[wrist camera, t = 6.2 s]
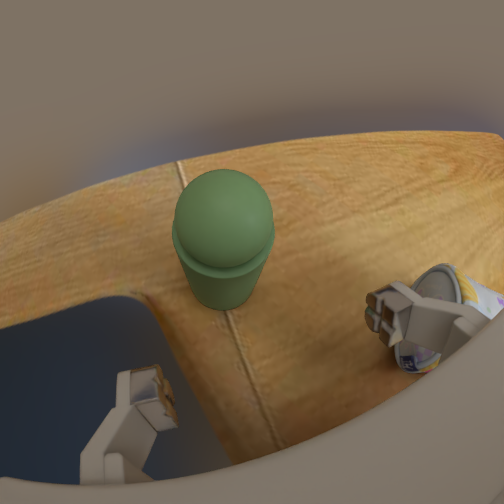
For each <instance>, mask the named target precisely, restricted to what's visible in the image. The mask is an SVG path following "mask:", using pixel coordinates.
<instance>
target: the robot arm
mask: <svg viewBox="0 0 504 504" xmlns="http://www.w3.org/2000/svg"><path fill="white" fill-rule="evenodd" d="M366 303H367V304H368V307H367V308H366V310H365V321H366V324H367V326H368V327H369V329H370V330H371V331H372V332H376V333H379V339H380V340H381V341H382V342H383V343H384V344H385V345H386V346H388V347H391V346H393V345H395V344H397V343H398V342H400V341H402V340H404V339H405V341H408V342H410V343H413V344H415V345H418V346H421V347H423V348H426V349H429V350H431V351H434V352H437V353H440V354H442V355H441V357H440V360H439V362H438V366H436V367H435V368H434V369H432V370H431V371H430V372H428V373H427V374H425V375H424V376H423V377H421V378H420V379H418V380H417V381H415V382H414V383H412V384H411V385H409V386H408V387H406V388H405V389H403V390H402V391H400V392H399V393H397V394H395V395H394V396H392V397H391V398H389V399H387V400H386V401H384V402H382V403H380V404H379V405H377V406H375V407H373V408H372V409H370V410H368V411H366V412H364V413H363V414H361V415H359V416H357V417H355V418H353V419H351V420H349V421H347V422H345V423H343V424H341V425H339V426H337V427H335V428H333V429H331V430H329V431H327V432H324V433H322V434H320V435H318V436H315V437H313V438H311V439H308V440H306V441H304V442H301V443H299V444H296V445H294V446H291V447H288V448H286V449H283V450H280V451H278V452H275V453H272V454H269V455H266V456H263V457H260V458H257V459H254V460H250V461H247V462H244V463H240V464H237V465H233V466H230V467H226V468H222V469H218V470H213V471H209V472H205V473H200V474H195V475H191V476H185V477H179V478H173V479H167V480H159V481H154V480H153V479H152V478H150V477H149V476H148V475H146V474H145V473H144V472H142V469H143V466H144V464H145V462H146V459H147V457H148V455H149V452H150V450H151V448H152V445H153V443H154V440H155V438H156V436H157V432H161V431H165V430H169V429H174V428H178V427H179V424H178V418H177V413H176V411H175V409H174V408H173V405H174V404H175V400H174V395H173V392H172V389H171V386H170V384H169V382H168V380H167V379H166V378H163V372H162V370H161V368H160V366H159V365H157V364H156V365H152V366H147V367H142V368H137V369H132V370H129V371H123V372H119V373H118V375H117V387H116V408H112V409H111V411H110V412H109V414H108V415H107V416H106V418H105V419H104V421H103V422H102V424H101V425H100V427H99V428H98V429H97V431H96V432H95V434H94V435H93V437H92V438H91V440H90V441H89V442H88V444H87V445H86V447H85V448H84V450H83V451H82V453H81V455H80V485H69V484H54V483H44V482H36V481H28V480H22V479H16V478H11V477H2V478H0V504H504V308H503V309H502V310H501V311H500V312H499V313H498V314H497V315H496V316H495V317H494V318H493V319H492V320H491V319H489V318H488V317H487V316H485V315H484V314H483V313H481V312H480V311H478V310H477V309H476V308H474V307H473V306H470V305H464V304H459V303H454V302H449V301H444V300H439V299H434V298H429V297H425V298H422V297H421V296H420V295H418V294H417V293H416V292H414V291H413V290H411V289H410V288H409V287H407V286H406V285H404V284H403V283H402V282H400V281H394V282H392V283H390V284H388V285H386V286H383V287H381V288H379V289H377V290H375V291H372V292H370V293H368V294H367V296H366Z"/></svg>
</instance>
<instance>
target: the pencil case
mask: <svg viewBox="0 0 504 504" xmlns="http://www.w3.org/2000/svg"><path fill="white" fill-rule="evenodd" d="M410 289H411V290H413V291H414V292H416V293H417V294H418V295H420V296H421V297H422V298H425V297H429V298H434V299H439V300H444V301H449V302H454V303H459V304H464V305H470V306H473V307H474V308H476V309H477V310H478V311H480V312H481V313H483V314H484V315H485V316H487V317H488V318H489V319H491V320H492V319H493V318H494V317H495V316H496V315H497V314H498V313H499V312H500V311H501V310H502V309H503V308H504V295H502V294H500V293H497V292H495V291H493V290H491V289H489V288H487V287H485V286H483V285H481V284H479V283H477V282H476V281H474V280H473V279H471V278H470V277H468V276H466V275H464V274H463V273H462V272H461V271H460V270H459V269H458V268H457V267H455V266H453V265H451V264H448V263H442V264H439V265H436V266H434V267H432V268H430V269H429V270H428V271H426V272H425V273H424V274H422V275H421V276H420V277H419V278H418V279H417V280H416V281H415V282H414V284H413V285H412V287H411V288H410ZM441 355H442V354H440V353H437V352H434V351H431V350H429V349H426V348H423V347H421V346H418V345H415V344H413V343H410V342H408V341H405V339H404V340H402V341H400V342H398V343H397V344H395V358H396V361H397V364H398V365H399V367H400V368H401V369H402V370H403V371H405V372H407V373H420V372H425V373H428V372H430V371H431V370H432V369H434V368H435V367H436V366H438V362H439V360H440V357H441Z"/></svg>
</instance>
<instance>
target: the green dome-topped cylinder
mask: <svg viewBox="0 0 504 504" xmlns="http://www.w3.org/2000/svg"><path fill="white" fill-rule="evenodd" d="M274 237H275V229H274V223H273V212H272V206H271V203H270V200H269V198H268V196H267V194H266V192H265V191H264V189H263V188H262V187H261V186H260V184H259V183H258V182H256V181H255V180H254V179H253V178H251V177H249V176H248V175H246V174H244V173H242V172H239V171H235V170H229V169H219V170H213V171H209V172H206V173H204V174H202V175H200V176H198V177H197V178H195V179H194V180H193V181H191V182H190V183H189V184H188V185H187V187H186V188H185V189H184V190H183V192H182V193H181V195H180V197H179V199H178V202H177V205H176V209H175V218H174V221H173V226H172V239H173V243H174V247H175V249H176V252H177V254H178V257H179V259H180V262H181V264H182V267H183V269H184V272H185V274H186V277H187V279H188V281H189V284H190V286H191V289H192V291H193V293H194V295H195V296H196V298H197V299H198V300H199V301H200V302H201V303H202V304H204V305H205V306H207V307H209V308H212V309H215V310H230V309H233V308H236V307H238V306H240V305H241V304H243V303H244V302H245V301H246V300H247V299H248V298H249V296H250V295H251V293H252V291H253V288H254V286H255V284H256V282H257V280H258V277H259V275H260V273H261V271H262V269H263V266H264V264H265V262H266V260H267V258H268V255H269V253H270V251H271V249H272V246H273V242H274Z"/></svg>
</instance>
